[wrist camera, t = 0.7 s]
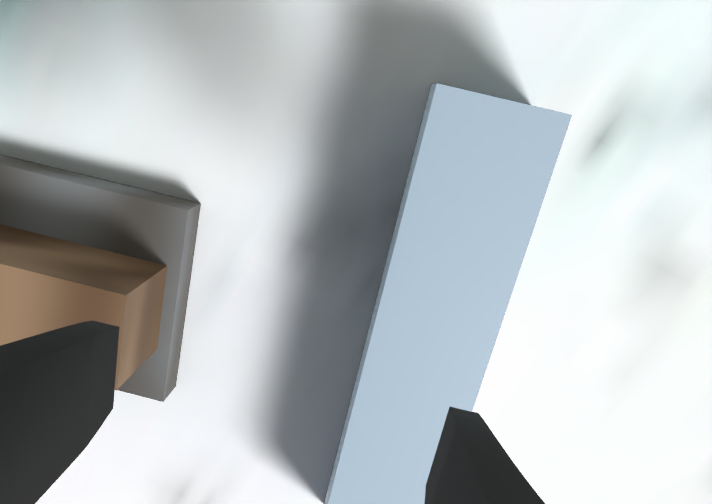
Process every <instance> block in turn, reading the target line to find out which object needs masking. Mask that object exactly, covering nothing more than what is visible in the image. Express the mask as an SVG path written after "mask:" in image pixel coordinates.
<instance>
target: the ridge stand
mask: <svg viewBox="0 0 712 504" xmlns="http://www.w3.org/2000/svg"><path fill="white" fill-rule="evenodd" d="M200 205H201V204H200V203H196V202H192V201H188V200H184V199H180V198H176V197H172V196H168V195H163V194H159V193H155V192H151V191H147V190H143V189H139V188H135V187H131V186H127V185H122V184H118V183H114V182H110V181H106V180H102V179H98V178H94V177H90V176H86V175H82V174H77V173H73V172H69V171H65V170H61V169H57V168H53V167H49V166H45V165H41V164H36V163H32V162H28V161H24V160H20V159H16V158H12V157H8V156H4V155H0V346H1V345H4V344H8V343H11V342H14V341H18V340H21V339H25V338H28V337H31V336H35V335H38V334H42V333H45V332H48V331H52V330H55V329H59V328H62V327H66V326H69V325H73V324H77V323H81V322H86V321H92V320H93V321H97V322H101V323H106V324H110V325H114V326H118V327H119V340H118V352H117V364H116V376H115V389H114V390H120V391H123V392H127V393H131V394H135V395H139V396H143V397H147V398H151V399H155V400H158V401H162V402H163V401H164V400H165V399H166V397H167V396H168V395H169V394H170V392H171V391H172V390H173V389H174V387H175V386H176V380H177V373H178V365H179V358H180V351H181V343H182V336H183V329H184V322H185V314H186V307H187V300H188V292H189V285H190V278H191V270H192V263H193V256H194V248H195V241H196V234H197V227H198V219H199V212H200Z"/></svg>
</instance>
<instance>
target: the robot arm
mask: <svg viewBox="0 0 712 504" xmlns="http://www.w3.org/2000/svg"><path fill="white" fill-rule="evenodd" d="M118 340H119V327H118V326H114V325H110V324H106V323H101V322H97V321H93V320H92V321H86V322H81V323H77V324H73V325H69V326H66V327H62V328H59V329H55V330H52V331H48V332H45V333H42V334H38V335H35V336H31V337H28V338H25V339H21V340H18V341H14V342H11V343H8V344H4V345H1V346H0V504H35V503H36V502H37V501H38V500H39V498H40V497H41V496H42V495H43V494H44V493H45V492H46V491H47V490H48V489H49V488H50V486H51V485H52V484H53V483H54V482H55V481H56V480H57V479H58V478H59V477H60V476H61V474H62V473H63V472H64V471H65V470H66V469H67V468H68V467H69V466H70V464H71V463H72V462H73V461H74V460H75V459H76V458H77V457H78V456H79V454H80V453H81V452H82V451H83V450H84V449H85V448H86V446H87V445H88V444H89V442H90V441H91V439H92V438H93V437H94V435H95V434H96V432H97V431H98V430H99V428H100V427H101V425H102V424H103V422H104V421H105V419H106V418H107V416H108V415H109V413H110V412H111V410H112V409H113V401H114V389H115V376H116V364H117V352H118ZM425 504H545V503H544V502H543V501H542V499H541V498H540V497H539V496H538V495H537V493H536V492H535V491H534V489H533V488H532V487H531V486H530V484H529V483H528V482H527V480H526V479H525V478H524V477H523V475H522V474H521V473H520V471H519V470H518V468H517V467H516V466H515V464H514V463H513V462H512V460H511V459H510V457H509V456H508V455H507V453H506V452H505V450H504V449H503V448H502V446H501V445H500V443H499V442H498V440H497V439H496V438H495V436H494V435H493V433H492V432H491V430H490V429H489V427H488V426H487V424H486V423H485V422H484V420H483V419H482V417H481V416H480V415H479V414H478V413H475V412H471V411H466V410H462V409H458V408H454V407H449V410H448V413H447V417H446V420H445V423H444V427H443V430H442V433H441V437H440V440H439V443H438V446H437V450H436V453H435V456H434V460H433V463H432V466H431V470H430V473H429V476H428V480H427V483H426V489H425Z"/></svg>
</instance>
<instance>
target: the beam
mask: <svg viewBox="0 0 712 504" xmlns="http://www.w3.org/2000/svg"><path fill="white" fill-rule="evenodd" d="M571 116H572V115H570V114H566V113H561V112H557V111H553V110H549V109H544V108H540V107H536V106H532V105H527V104H523V103H519V102H515V101H510V100H506V99H502V98H498V97H494V96H489V95H485V94H481V93H477V92H472V91H468V90H464V89H460V88H455V87H451V86H447V85H443V84H438V83H434V84H431V87H430V91H429V95H428V99H427V103H426V107H425V111H424V115H423V119H422V123H421V127H420V130H419V134H418V138H417V142H416V146H415V150H414V154H413V158H412V162H411V166H410V170H409V173H408V177H407V181H406V185H405V189H404V193H403V197H402V201H401V205H400V209H399V213H398V216H397V220H396V224H395V228H394V232H393V236H392V240H391V244H390V248H389V252H388V256H387V259H386V263H385V267H384V271H383V275H382V279H381V283H380V287H379V291H378V295H377V299H376V302H375V306H374V310H373V314H372V318H371V322H370V326H369V330H368V334H367V338H366V342H365V345H364V349H363V353H362V357H361V361H360V365H359V369H358V373H357V377H356V381H355V385H354V388H353V392H352V396H351V400H350V404H349V408H348V412H347V416H346V420H345V424H344V428H343V431H342V435H341V439H340V443H339V447H338V451H337V455H336V459H335V463H334V467H333V471H332V475H331V478H330V482H329V486H328V490H327V494H326V498H325V502H324V504H425V489H426V483H427V480H428V476H429V473H430V470H431V466H432V463H433V460H434V456H435V453H436V450H437V446H438V443H439V440H440V437H441V433H442V430H443V427H444V423H445V420H446V417H447V413H448V410H449V407H454V408H458V409H462V410H466V411H471V412H472V409H473V406H474V403H475V400H476V397H477V395H478V392H479V389H480V386H481V383H482V380H483V377H484V374H485V371H486V368H487V365H488V362H489V359H490V356H491V353H492V350H493V347H494V344H495V341H496V338H497V335H498V332H499V329H500V326H501V323H502V320H503V317H504V315H505V312H506V309H507V306H508V303H509V300H510V297H511V294H512V291H513V288H514V285H515V282H516V279H517V276H518V273H519V270H520V267H521V264H522V261H523V258H524V255H525V252H526V249H527V246H528V243H529V240H530V238H531V235H532V232H533V229H534V226H535V223H536V220H537V217H538V214H539V211H540V208H541V205H542V202H543V199H544V196H545V193H546V190H547V187H548V184H549V181H550V178H551V175H552V172H553V169H554V166H555V163H556V161H557V158H558V155H559V152H560V149H561V146H562V143H563V140H564V137H565V134H566V131H567V128H568V125H569V122H570V119H571Z"/></svg>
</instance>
